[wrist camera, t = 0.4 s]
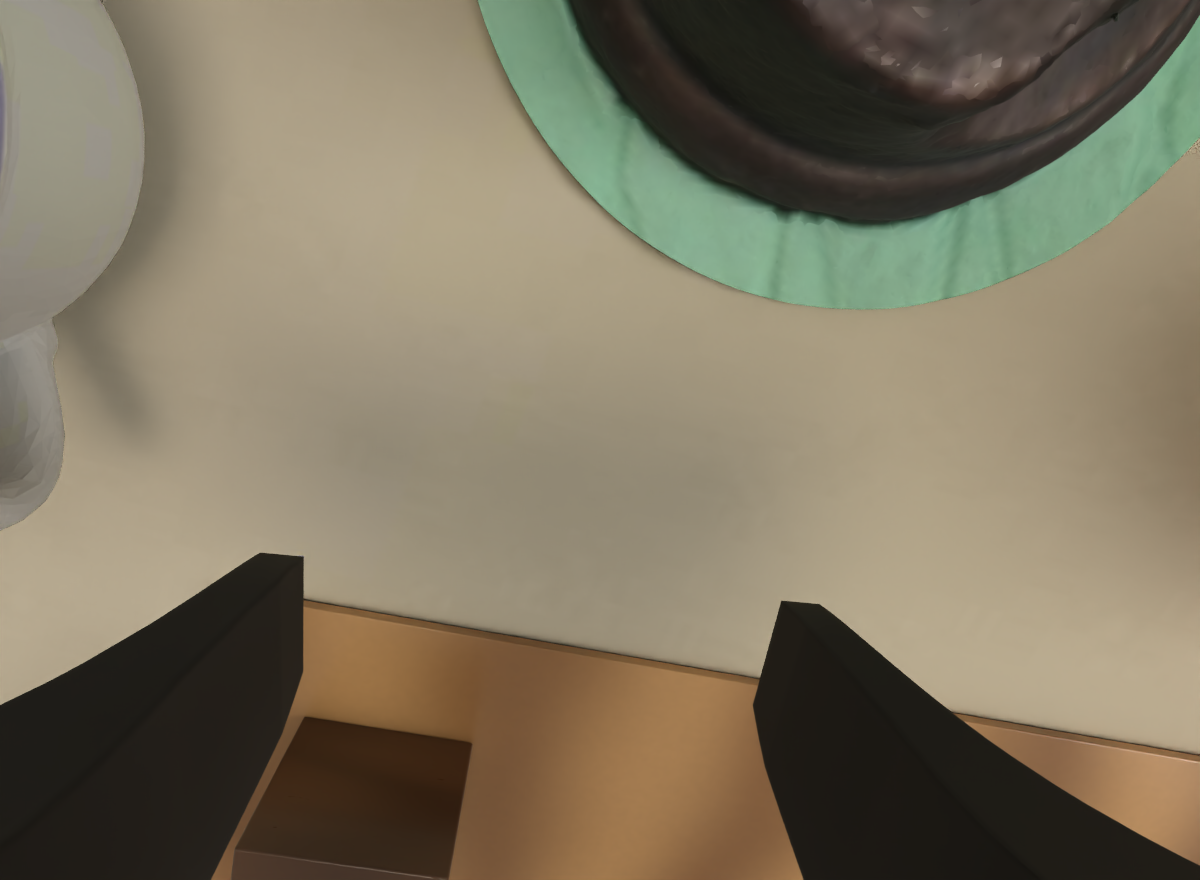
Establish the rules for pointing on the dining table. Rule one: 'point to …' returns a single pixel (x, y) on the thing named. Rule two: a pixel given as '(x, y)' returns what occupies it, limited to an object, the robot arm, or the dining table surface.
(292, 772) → the cube
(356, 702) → the board
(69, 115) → the teacup
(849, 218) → the chocolate cake
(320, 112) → the dining table surface
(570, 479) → the dining table surface
